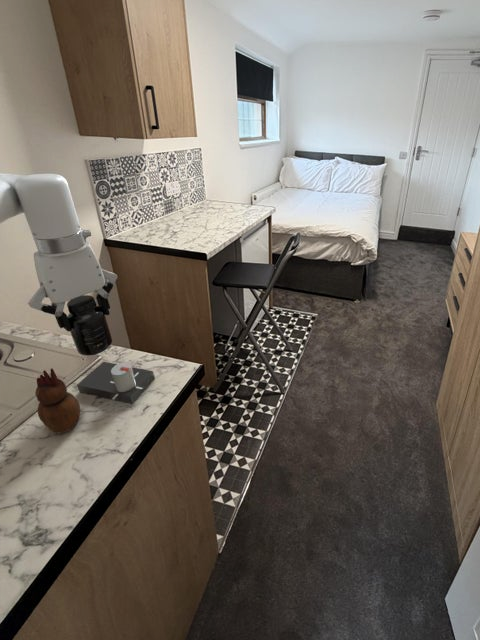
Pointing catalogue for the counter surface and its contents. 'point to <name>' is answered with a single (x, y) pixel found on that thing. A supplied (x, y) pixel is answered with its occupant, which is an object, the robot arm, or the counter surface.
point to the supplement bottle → (88, 326)
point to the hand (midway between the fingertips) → (86, 320)
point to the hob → (104, 385)
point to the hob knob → (123, 377)
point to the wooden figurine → (56, 404)
